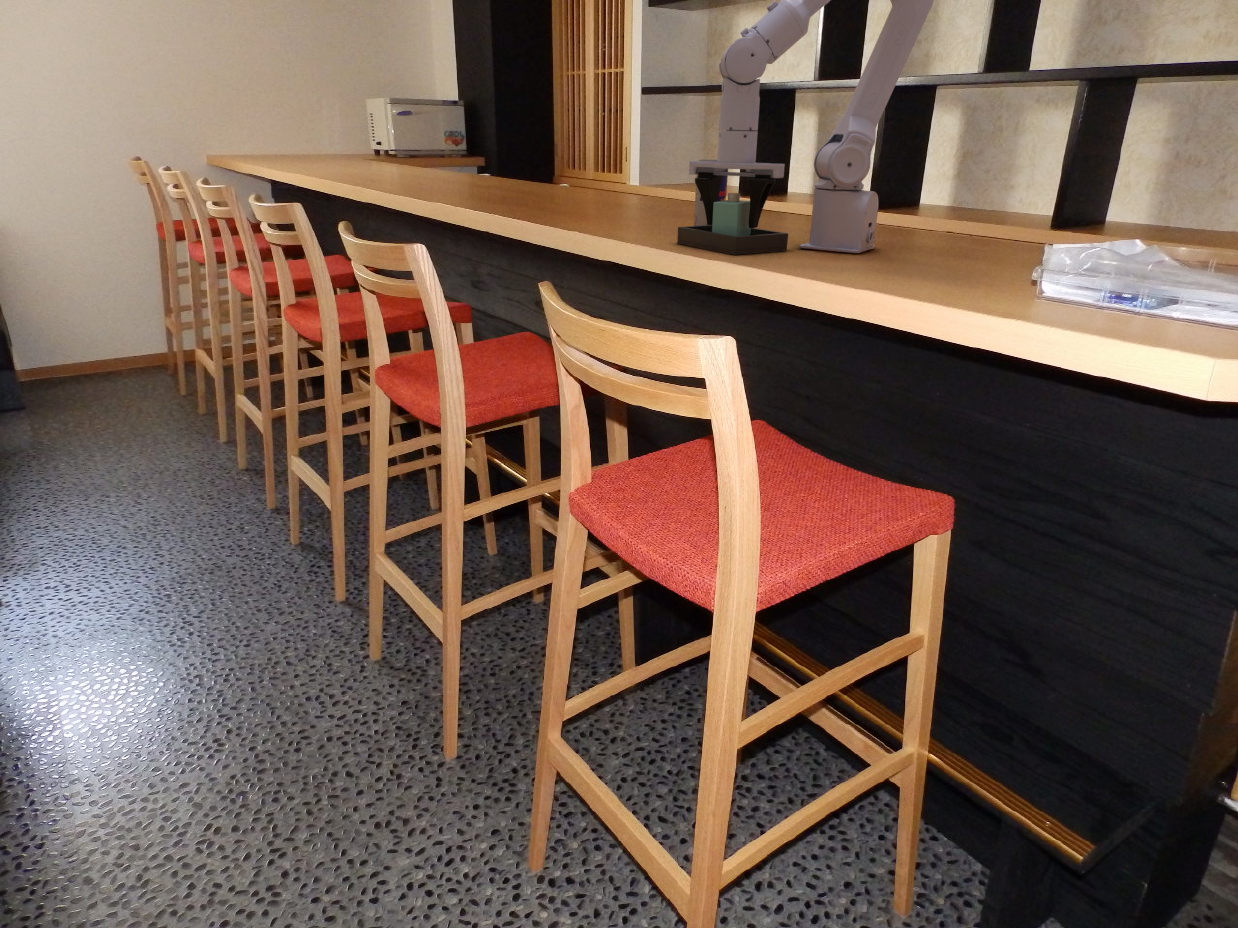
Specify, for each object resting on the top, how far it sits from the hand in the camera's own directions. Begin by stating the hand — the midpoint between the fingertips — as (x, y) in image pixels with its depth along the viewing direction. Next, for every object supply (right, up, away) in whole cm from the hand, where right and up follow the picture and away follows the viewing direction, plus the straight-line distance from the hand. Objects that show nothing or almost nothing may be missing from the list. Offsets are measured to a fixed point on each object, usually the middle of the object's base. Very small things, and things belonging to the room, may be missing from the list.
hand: (732, 226), depth 129 cm
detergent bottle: (0, -2, +1) cm, 3 cm away
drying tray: (0, -3, +1) cm, 3 cm away
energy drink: (-2, +4, +19) cm, 20 cm away
